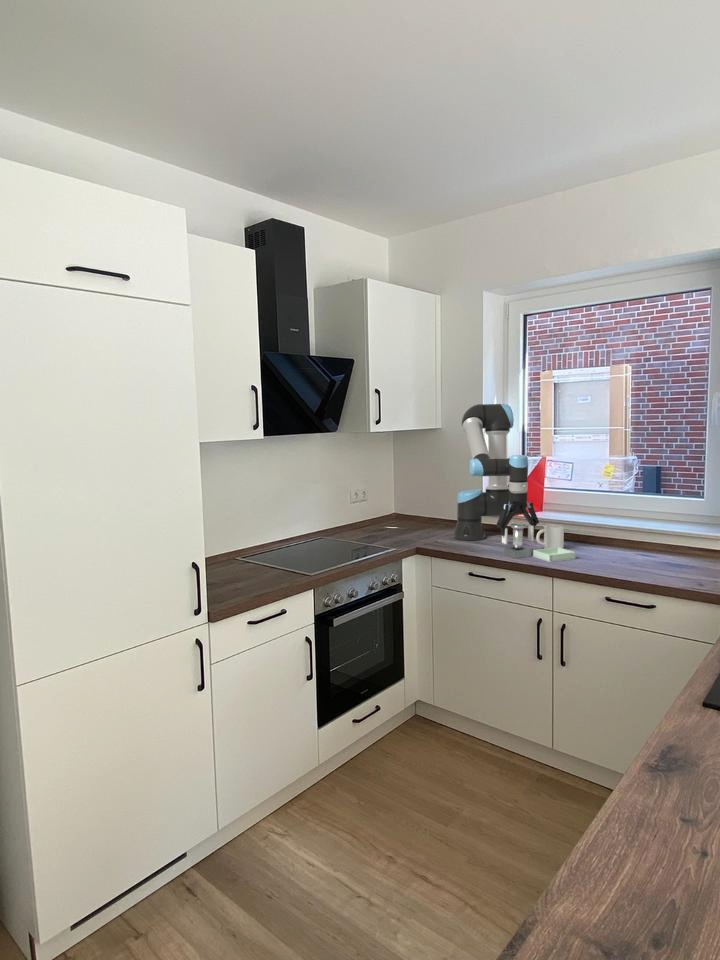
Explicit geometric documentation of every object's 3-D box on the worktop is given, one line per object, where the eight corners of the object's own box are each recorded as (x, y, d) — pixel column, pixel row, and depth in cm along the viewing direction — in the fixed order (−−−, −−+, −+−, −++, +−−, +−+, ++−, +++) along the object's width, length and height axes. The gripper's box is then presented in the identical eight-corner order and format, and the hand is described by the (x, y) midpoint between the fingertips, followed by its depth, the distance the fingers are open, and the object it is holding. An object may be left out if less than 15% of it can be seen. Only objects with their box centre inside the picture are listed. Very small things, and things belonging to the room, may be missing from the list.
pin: (508, 554, 264) (508, 524, 263) (518, 553, 266) (519, 523, 265) (516, 557, 259) (516, 526, 257) (527, 556, 261) (527, 525, 259)
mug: (539, 551, 270) (539, 528, 269) (533, 547, 278) (533, 524, 277) (566, 550, 270) (566, 527, 269) (559, 546, 279) (559, 524, 278)
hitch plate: (504, 554, 265) (504, 547, 264) (519, 552, 268) (519, 545, 267) (515, 558, 257) (515, 551, 257) (531, 556, 260) (531, 549, 260)
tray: (532, 556, 260) (533, 550, 260) (557, 553, 265) (557, 547, 265) (550, 562, 250) (550, 555, 250) (575, 558, 255) (575, 552, 254)
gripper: (498, 494, 251) (498, 546, 254) (548, 491, 261) (547, 540, 263) (488, 492, 258) (487, 542, 260) (536, 489, 268) (535, 537, 270)
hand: (517, 542), depth 262 cm, fingers open, 13 cm apart
